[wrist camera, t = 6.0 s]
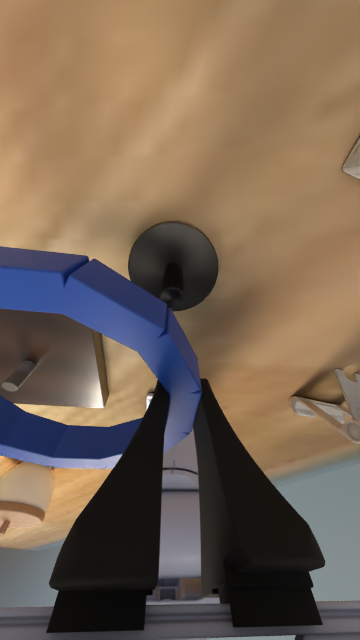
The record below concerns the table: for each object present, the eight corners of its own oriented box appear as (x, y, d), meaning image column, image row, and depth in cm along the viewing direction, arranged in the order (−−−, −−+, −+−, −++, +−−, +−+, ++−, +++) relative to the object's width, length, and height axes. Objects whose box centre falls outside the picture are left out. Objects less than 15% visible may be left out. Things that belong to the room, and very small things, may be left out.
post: (207, 310, 20) (219, 351, 15) (131, 302, 19) (113, 342, 14) (225, 227, 16) (251, 240, 10) (129, 214, 15) (102, 221, 10)
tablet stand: (287, 401, 29) (323, 466, 21) (322, 364, 25) (380, 430, 17) (334, 410, 30) (382, 474, 23) (374, 377, 26) (448, 443, 19)
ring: (180, 440, 16) (181, 472, 14) (-4, 432, 15) (-30, 465, 13) (218, 269, 8) (230, 288, 6) (-158, 229, 7) (-276, 238, 5)
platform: (108, 395, 27) (96, 431, 23) (-2, 389, 26) (-36, 425, 22) (97, 303, 19) (74, 332, 15) (-61, 288, 18) (-133, 314, 14)
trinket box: (75, 470, 40) (50, 536, 32) (39, 480, 43) (8, 544, 35) (32, 448, 35) (-10, 521, 27) (-5, 462, 38) (-53, 531, 30)
